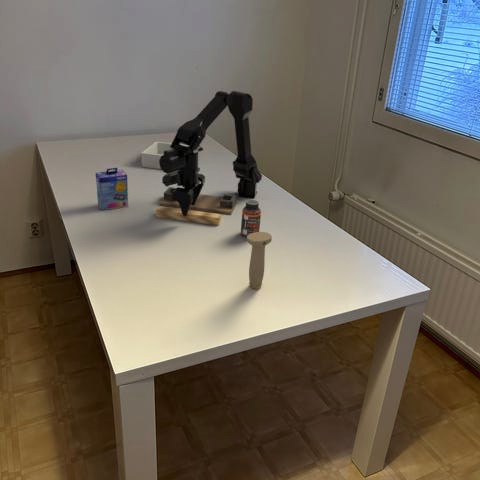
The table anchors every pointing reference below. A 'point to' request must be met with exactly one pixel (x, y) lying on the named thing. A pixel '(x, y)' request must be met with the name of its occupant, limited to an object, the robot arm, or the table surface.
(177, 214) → the slat
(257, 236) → the handle
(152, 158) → the tray
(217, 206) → the endcap frame
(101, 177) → the ink cartridge box
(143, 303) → the table surface
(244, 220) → the supplement bottle
